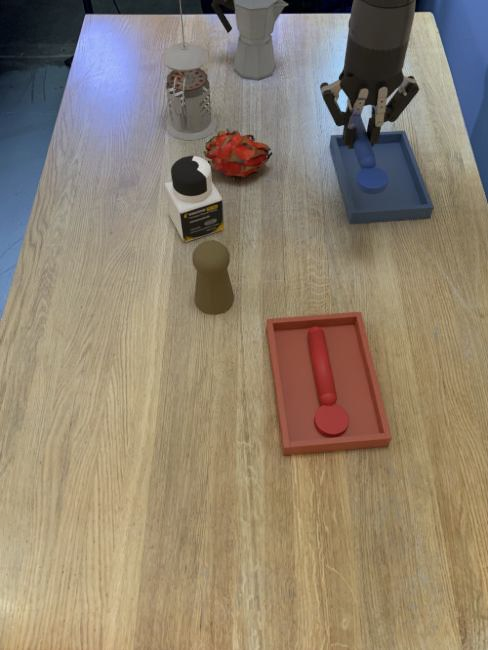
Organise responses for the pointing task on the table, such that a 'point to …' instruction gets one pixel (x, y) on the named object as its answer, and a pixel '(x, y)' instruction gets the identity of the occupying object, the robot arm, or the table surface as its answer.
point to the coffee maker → (252, 34)
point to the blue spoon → (367, 164)
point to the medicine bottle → (194, 199)
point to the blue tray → (402, 189)
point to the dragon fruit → (236, 154)
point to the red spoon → (325, 388)
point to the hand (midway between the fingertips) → (359, 144)
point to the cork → (212, 278)
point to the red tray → (349, 378)
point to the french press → (188, 91)
